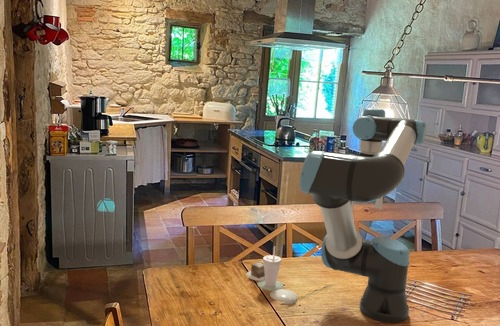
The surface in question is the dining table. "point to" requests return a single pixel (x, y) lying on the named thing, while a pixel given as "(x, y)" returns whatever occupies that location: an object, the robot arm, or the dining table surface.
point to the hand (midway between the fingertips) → (364, 210)
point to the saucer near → (284, 296)
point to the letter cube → (257, 270)
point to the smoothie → (271, 269)
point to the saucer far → (254, 277)
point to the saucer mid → (263, 286)
